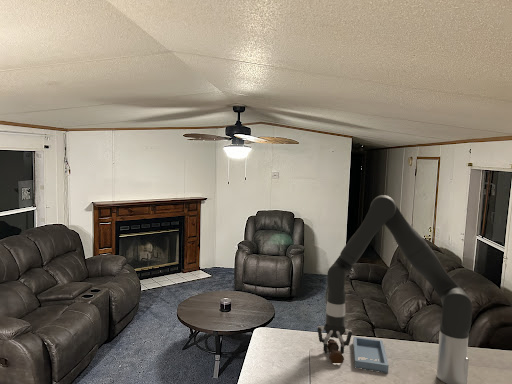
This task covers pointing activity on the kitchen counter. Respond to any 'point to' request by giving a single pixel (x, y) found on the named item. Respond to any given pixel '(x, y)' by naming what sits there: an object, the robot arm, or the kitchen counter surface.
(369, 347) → the parts tray
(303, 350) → the kitchen counter surface
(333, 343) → the bolt
